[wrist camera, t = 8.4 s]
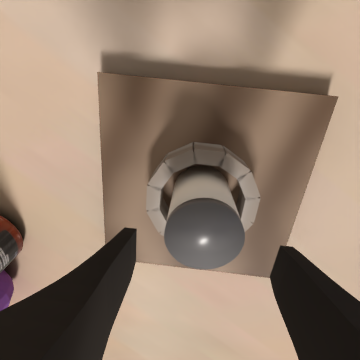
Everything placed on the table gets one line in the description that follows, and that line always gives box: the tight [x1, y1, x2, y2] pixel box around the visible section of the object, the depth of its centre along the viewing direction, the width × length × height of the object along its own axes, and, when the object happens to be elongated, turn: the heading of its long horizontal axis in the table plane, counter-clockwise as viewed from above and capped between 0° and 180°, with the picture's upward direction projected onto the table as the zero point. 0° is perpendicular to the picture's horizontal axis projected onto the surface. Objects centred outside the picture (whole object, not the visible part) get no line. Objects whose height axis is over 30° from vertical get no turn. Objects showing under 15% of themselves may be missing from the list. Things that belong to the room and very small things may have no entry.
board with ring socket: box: [97, 72, 338, 278], centre depth 17 cm, size 16×16×3 cm
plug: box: [164, 166, 245, 270], centre depth 15 cm, size 4×4×6 cm
